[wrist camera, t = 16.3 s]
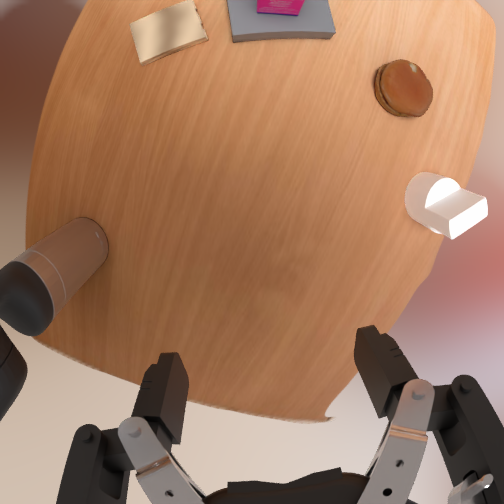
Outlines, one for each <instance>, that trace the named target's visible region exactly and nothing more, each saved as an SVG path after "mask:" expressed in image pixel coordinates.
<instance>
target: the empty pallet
mask: <svg viewBox="0 0 504 504" xmlns="http://www.w3.org/2000/svg"><path fill="white" fill-rule="evenodd" d="M129 25H130V28H131V32H132V36H133V39H134V43H135V46H136V50H137V53H138V56H139V60H140V63H141V65H142V66H144V65H147V64H149V63H151V62H153V61H156V60H158V59H160V58H162V57H165V56H167V55H170V54H172V53H175V52H177V51H180V50H183V49H185V48H188V47H191V46H194V45H196V44H199V43H202V42H205V41H208V38H207V35H206V32H205V30H204V29H203V28H202V25H203V24H202V22H201V19H200V16H199V14H198V15H197V9H196V6H195V3H194V1H192V0H186V1H183V2H181V3H178V4H175V5H172V6H170V7H167V8H165V9H162V10H160V11H157V12H155V13H152V14H150V15H148V16H146V17H143V18H141V19H139V20H137V21H135V22H133V23H131V24H129Z"/></svg>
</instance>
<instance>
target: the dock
mask: <svg viewBox="0 0 504 504" xmlns="http://www.w3.org/2000/svg"><path fill="white" fill-rule="evenodd" d="M227 5H228V11H229V17H230V24H231V30H232V37H233V43H234V42H243V41H253V40H265V39H287V38H314V39H330V38H331V37H332V36H333V35H334V34H335V33H336V31H335V27H334V23H333V19H332V15H331V11H330V7H329V4H328V0H305V1H304V4H303V6H302V8H301V10H300V12H299V15H298V16H291V15H280V14H265V13H257V0H227Z"/></svg>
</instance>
